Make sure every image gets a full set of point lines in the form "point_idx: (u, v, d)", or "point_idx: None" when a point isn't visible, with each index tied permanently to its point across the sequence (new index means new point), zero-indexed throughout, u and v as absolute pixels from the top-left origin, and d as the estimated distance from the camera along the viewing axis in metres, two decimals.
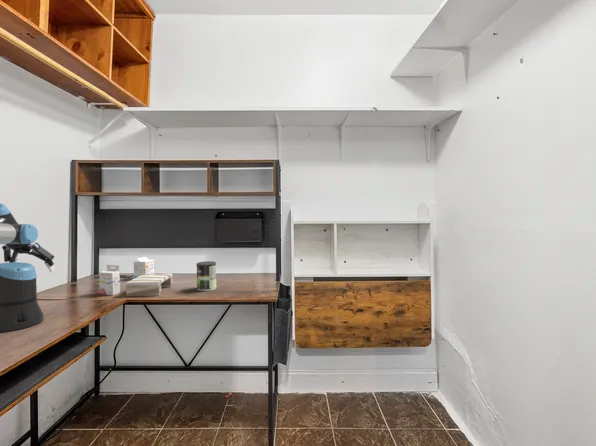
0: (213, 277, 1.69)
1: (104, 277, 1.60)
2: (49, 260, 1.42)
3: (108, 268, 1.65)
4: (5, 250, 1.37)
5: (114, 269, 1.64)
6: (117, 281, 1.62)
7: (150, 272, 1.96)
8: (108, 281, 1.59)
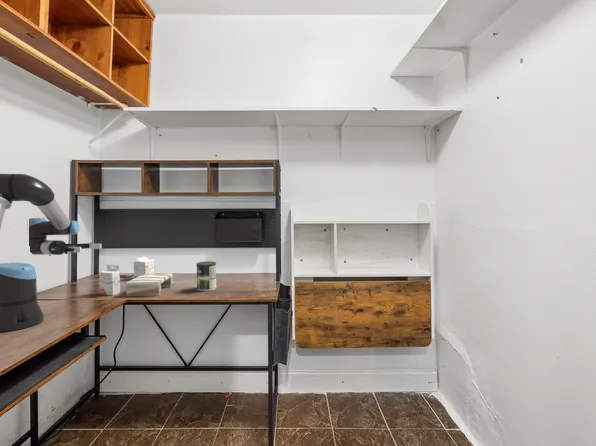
0: (213, 277, 1.69)
1: (104, 277, 1.60)
2: (91, 243, 1.73)
3: (108, 268, 1.65)
4: (55, 246, 1.58)
5: (114, 269, 1.64)
6: (117, 281, 1.62)
7: (150, 272, 1.96)
8: (108, 281, 1.59)
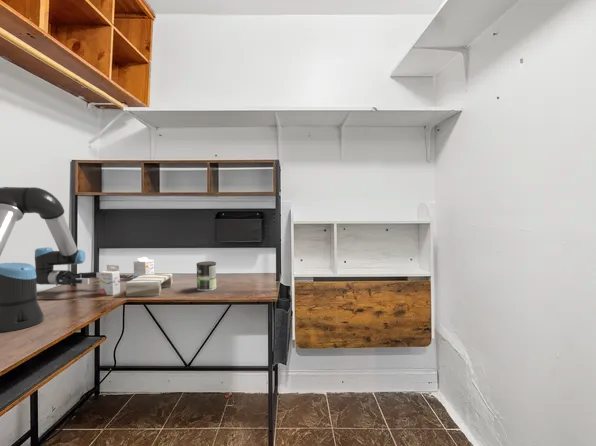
0: (213, 277, 1.69)
1: (104, 277, 1.60)
2: None
3: (108, 268, 1.65)
4: (63, 278, 1.59)
5: (114, 269, 1.64)
6: (117, 281, 1.62)
7: (150, 272, 1.96)
8: (108, 281, 1.59)
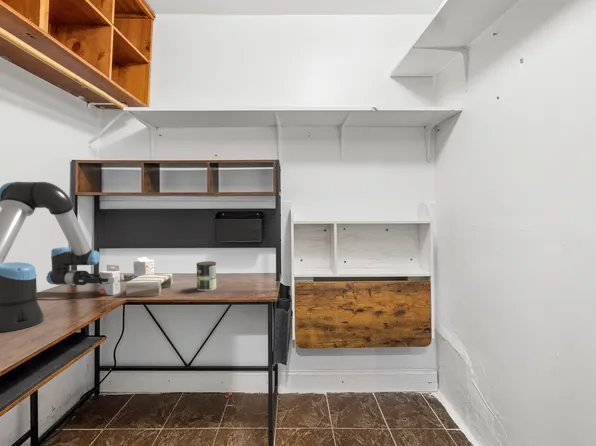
0: (213, 277, 1.69)
1: None
2: None
3: (108, 268, 1.65)
4: (83, 278, 1.58)
5: (114, 269, 1.64)
6: (117, 281, 1.62)
7: (150, 272, 1.96)
8: None
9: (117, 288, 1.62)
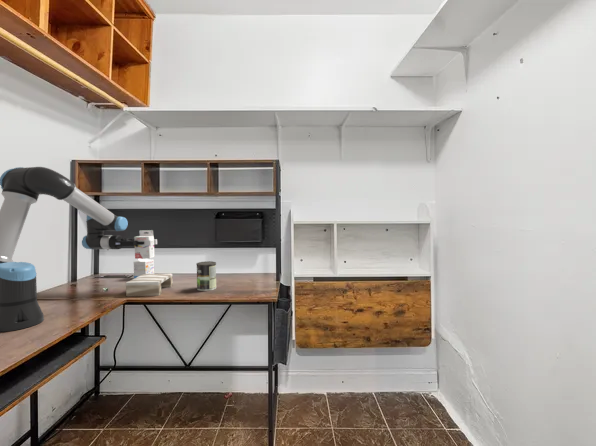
0: (213, 277, 1.69)
1: None
2: None
3: (141, 234, 1.69)
4: (120, 241, 1.62)
5: (148, 234, 1.68)
6: (152, 245, 1.67)
7: (150, 272, 1.96)
8: None
9: (152, 252, 1.67)
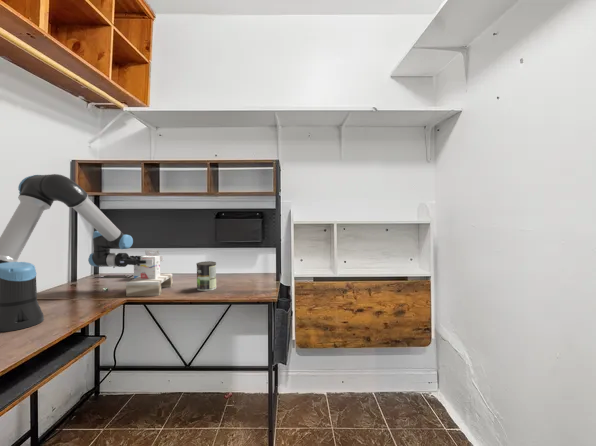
0: (213, 277, 1.69)
1: None
2: None
3: (147, 253, 1.69)
4: (124, 259, 1.62)
5: (154, 254, 1.68)
6: (158, 265, 1.67)
7: None
8: (150, 265, 1.64)
9: (158, 272, 1.67)
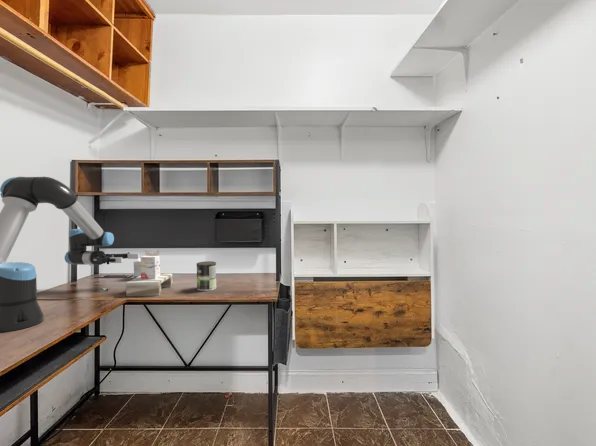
0: (213, 277, 1.69)
1: (146, 261, 1.64)
2: (128, 253, 1.78)
3: (147, 253, 1.69)
4: (97, 257, 1.63)
5: (154, 254, 1.68)
6: (158, 265, 1.67)
7: None
8: (150, 265, 1.64)
9: (158, 272, 1.67)
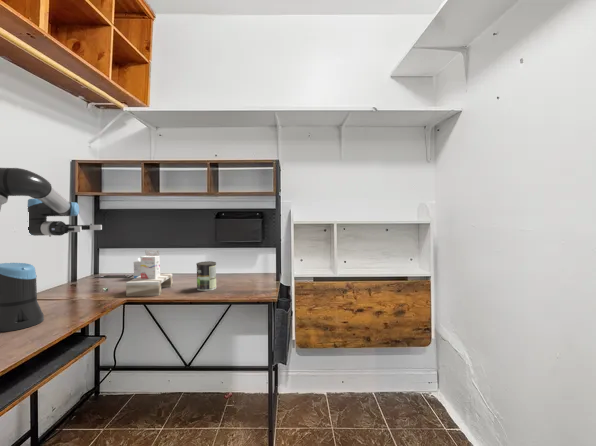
0: (213, 277, 1.69)
1: (146, 261, 1.64)
2: (91, 224, 1.72)
3: (147, 253, 1.69)
4: (55, 226, 1.57)
5: (154, 254, 1.68)
6: (158, 265, 1.67)
7: None
8: (150, 265, 1.64)
9: (158, 272, 1.67)
